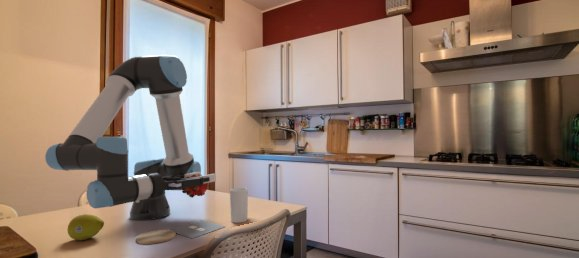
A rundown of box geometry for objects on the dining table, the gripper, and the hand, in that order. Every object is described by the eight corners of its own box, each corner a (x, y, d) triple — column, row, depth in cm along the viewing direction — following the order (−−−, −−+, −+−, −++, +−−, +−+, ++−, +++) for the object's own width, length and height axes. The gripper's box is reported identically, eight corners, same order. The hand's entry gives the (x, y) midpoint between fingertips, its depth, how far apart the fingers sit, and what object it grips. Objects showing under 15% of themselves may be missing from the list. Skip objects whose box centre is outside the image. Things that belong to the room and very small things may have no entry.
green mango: (59, 243, 95) (59, 218, 95) (79, 234, 103) (79, 211, 103) (91, 244, 94) (91, 218, 94) (109, 235, 101) (108, 211, 101)
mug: (242, 223, 112) (242, 191, 112) (227, 222, 114) (226, 190, 114) (254, 216, 121) (254, 186, 121) (239, 215, 123) (239, 185, 124)
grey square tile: (167, 230, 105) (167, 230, 105) (200, 220, 117) (200, 220, 117) (192, 238, 97) (192, 238, 97) (225, 226, 108) (225, 226, 108)
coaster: (128, 239, 97) (128, 237, 97) (162, 229, 107) (162, 227, 107) (147, 247, 90) (147, 245, 90) (182, 235, 100) (182, 233, 100)
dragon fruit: (181, 204, 101) (203, 201, 112) (199, 190, 99) (220, 189, 110) (171, 183, 103) (193, 182, 115) (189, 169, 102) (209, 169, 113)
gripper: (130, 194, 99) (190, 184, 117) (165, 203, 86) (226, 189, 105) (130, 172, 99) (189, 164, 117) (165, 177, 86) (226, 168, 105)
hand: (207, 176), depth 111 cm, fingers closed on dragon fruit, 8 cm apart
